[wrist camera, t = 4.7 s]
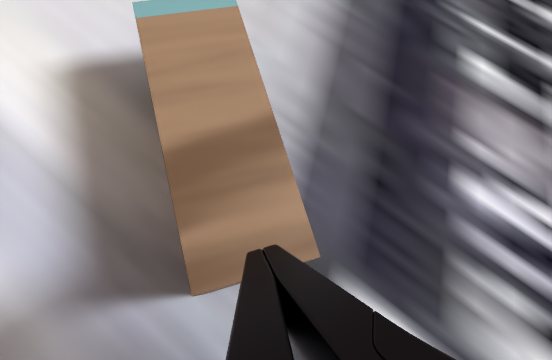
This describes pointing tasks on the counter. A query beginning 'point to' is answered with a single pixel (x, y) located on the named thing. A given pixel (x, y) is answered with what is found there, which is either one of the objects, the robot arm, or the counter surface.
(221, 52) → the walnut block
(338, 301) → the robot arm
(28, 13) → the counter surface
